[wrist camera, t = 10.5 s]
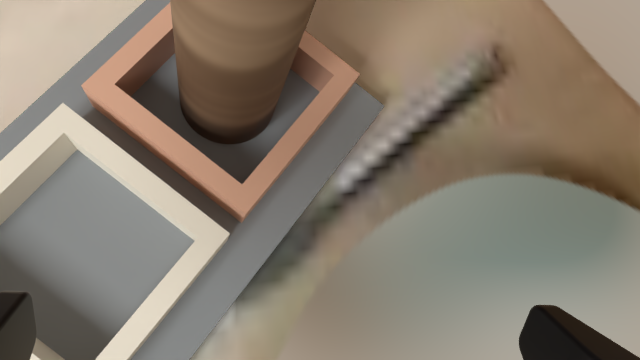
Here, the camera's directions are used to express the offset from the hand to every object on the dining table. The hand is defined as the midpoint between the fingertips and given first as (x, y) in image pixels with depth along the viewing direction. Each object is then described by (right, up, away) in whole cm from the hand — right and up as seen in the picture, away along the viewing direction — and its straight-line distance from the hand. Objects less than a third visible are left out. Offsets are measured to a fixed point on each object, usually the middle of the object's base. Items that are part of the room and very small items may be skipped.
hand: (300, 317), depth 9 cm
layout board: (-7, +2, +12) cm, 14 cm away
